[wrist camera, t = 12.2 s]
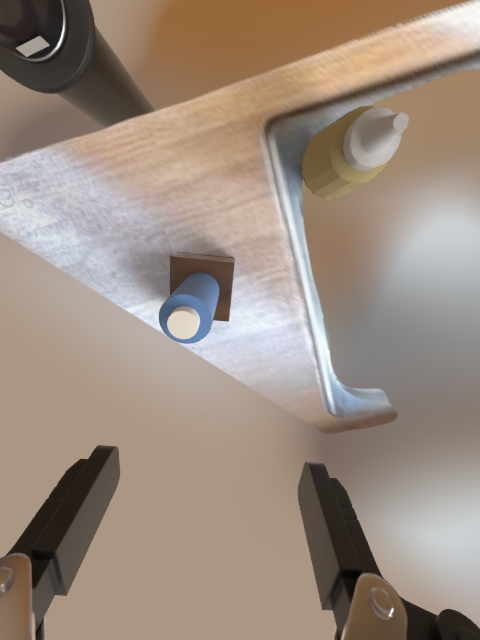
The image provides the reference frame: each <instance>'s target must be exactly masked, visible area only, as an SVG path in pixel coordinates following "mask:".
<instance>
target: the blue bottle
mask: <svg viewBox="0 0 480 640" xmlns="http://www.w3.org/2000/svg"><path fill="white" fill-rule="evenodd" d="M218 297H219V285H218V283H217V281H216V280H215V279H214V278H213V277H212V276H211V275H209V274H207V273H203V272H197V273H193V274H191V275H190V276H188V277H187V278H186V279H185V280H184V281H183V283H182V284H181V285H180V286H179V287H178V288H177V289H176V290H175V291H174V292H173V293H172V294H171V296H170V297H169V298H168V299H167V300H166V301H165V302H164V303H163V305H162V306H161V309H160V312H159V322H160V325H161V328H162V330H163V331H164V333H165V334H166V335H167V336H168V337H170V338H171V339H173V340H175V341H177V342H180V343H195V342H198V341H200V340H201V339H203V338H204V337H205V336H206V335H207V334H208V333H209V331H210V329H211V326H212V322H213V317H214V313H215V309H216V305H217V301H218Z"/></svg>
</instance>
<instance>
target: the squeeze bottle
mask: <svg viewBox="0 0 480 640" xmlns="http://www.w3.org/2000/svg"><path fill="white" fill-rule="evenodd" d="M408 122H409V118H408V116H407V114H405V113H398V114H396V113H395V112H394V111H392V110H391V109H389V108H387V107H385V106H377V107H374V106H366V107H359V108H357V109H355V110H353V111H351V112H349V113H347V114H345V115H344V116H343V117H341V118H340V119H338V120H337V121H335V122H334V123H332V124H331V125H329V126H328V127H326V128H325V129H324V130H322V131H321V132H319V133H318V134H317V135H316V136H315V137H314V138H313V139H312V140H311V142H310V143H309V144H308V146H307V148H306V151H305V153H304V155H303V158H302V175H303V178H304V181H305V185H306V186H307V187H308V188H309V189H310V190H311V192H312V193H313V194H315V195H317V196H319V197H322V198H337V197H339V196H341V195H343V194H345V193H347V192H349V191H351V190H353V189H355V188H356V187H358V186H360V185H362V184H363V183H365V182H367V181H369V180H371V179H372V178H374V177H376V176H377V174H379V173H380V171H382V170H383V169H384V168H385V167H386V165H387V163H388V161H389V159H390V158H391V157H392V156H393V155H394V153H395V151H396V149H397V147H398V145H399V143H400V138H401V132H402V131H403V130H404V129H405V128H406V127H407V125H408Z"/></svg>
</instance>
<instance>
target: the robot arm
mask: <svg viewBox="0 0 480 640" xmlns="http://www.w3.org/2000/svg"><path fill="white" fill-rule="evenodd" d="M67 34H68V14H67V8H66V4H65V1H64V0H0V44H1V45H2V46H3V47H4V48H6V49H7V50H8V51H9V52H11V53H12V54H13V55H15V56H16V57H18V58H19V59H21V60H24V61H26V62H29V63H34V64H42V63H46V62H49V61H51V60H53V59H54V58H55V57H57V56H58V54H59V53H60V52H61V51H62V49H63V47H64V45H65V42H66V39H67ZM119 477H120V465H119V451H118V447H115V446H102V445H99V446H97V447H96V448H95V449H94V451H93V452H92V454H91V456H90V457H89V459H80V460H79V461H77V462H76V463H75V464H74V465H73V466H71V467H70V468H69V469H68V470H67V471H66V473H65V474H64V475H63V477H62V478H61V480H60V481H59V482H58V484H57V486H56V487H55V488H54V489H53V491H52V492H51V494H50V495H49V498H48V499H46V501H45V502H44V504H43V505H42V507H41V508H40V510H39V511H38V512H37V514H36V515H35V517H34V518H33V519H32V521H31V522H30V524H29V525H28V527H27V528H26V530H25V531H24V532H23V534H22V535H21V536H20V538H19V539H18V541H17V542H16V544H15V545H14V546H13V548H12V549H11V550H10V551H9V552H8V553H7V554H6V556H4V557H2V558H0V640H47V623H46V612H47V610H48V608H49V606H50V604H51V602H52V600H53V598H54V596H55V595H64V596H66V595H67V593H68V591H69V589H70V587H71V585H72V583H73V580H74V578H75V576H76V574H77V572H78V569H79V568H80V566H81V563H82V561H83V559H84V557H85V555H86V553H87V550H88V548H89V546H90V544H91V542H92V540H93V538H94V535H95V533H96V531H97V529H98V527H99V525H100V522H101V520H102V518H103V516H104V514H105V512H106V510H107V507H108V505H109V503H110V501H111V499H112V497H113V495H114V492H115V490H116V487H117V485H118V481H119ZM298 500H299V506H300V511H301V515H302V519H303V524H304V529H305V533H306V538H307V542H308V547H309V551H310V556H311V560H312V565H313V570H314V574H315V579H316V583H317V588H318V592H319V597H320V601H321V606H322V610H333V613H334V617H335V621H336V627H335V630H334V634H333V638H332V640H480V629H479V628H478V627H477V625H476V624H474V623H473V622H472V621H471V620H470V619H468V618H467V617H466V616H464V615H463V614H461V613H460V612H457V611H455V610H451V609H446V610H443V611H442V612H441V613H440V614H439V615H438V616H437V615H435V614H433V613H431V612H429V611H426V610H424V609H422V608H420V607H418V606H416V605H414V604H411V603H410V602H408V601H406V600H404V599H403V598H401V597H400V596H399V595H398V594H397V592H396V591H395V589H394V588H393V587H392V586H391V585H390V584H389V583H388V582H387V581H386V580H385V579H384V578H383V577H382V575H381V573H380V571H379V569H378V567H377V565H376V562H375V560H374V557H373V555H372V552H371V550H370V547H369V545H368V542H367V541H366V538H365V535H364V533H363V530H362V528H361V525H360V523H359V521H358V520H357V516H356V513H355V511H354V509H353V508H352V504H351V501H350V499H349V496H348V494H347V492H346V490H345V489H344V487H343V486H342V485H341V484H340V482H339V481H338V480H337V479H336V478H329V475H328V472H327V470H326V467H325V465H324V464H323V463H314V462H305V464H304V467H303V470H302V474H301V478H300V481H299V485H298Z"/></svg>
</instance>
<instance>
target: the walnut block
mask: <svg viewBox="0 0 480 640" xmlns="http://www.w3.org/2000/svg"><path fill="white" fill-rule="evenodd" d="M234 260H235V258H228V257H218V256H208V255H198V254H188V253H179V252H178V253H176V254H174V255H172V256H170V296H171V294H172V293H173V292H174V291H175V290H176V289H177V288H178V287H179V286H180V285H181V284H182V283H183V281H184V280H185V279H186V278H187V277H188V276H190V275H191V274H193V273H197V272H203V273H207V274H209V275H211V276H212V277H213V278H214V279H215V280H216V281H217V283H218V285H219V297H218V301H217V305H216V309H215V313H214V317H213V320H217V321H228V322H229V316H230V305H231V294H232V283H233V272H234Z"/></svg>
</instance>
